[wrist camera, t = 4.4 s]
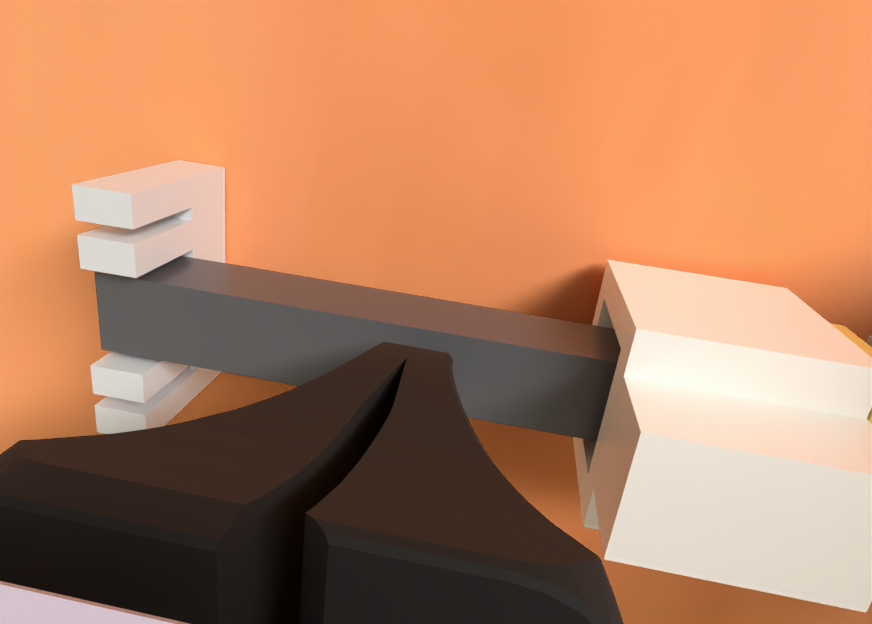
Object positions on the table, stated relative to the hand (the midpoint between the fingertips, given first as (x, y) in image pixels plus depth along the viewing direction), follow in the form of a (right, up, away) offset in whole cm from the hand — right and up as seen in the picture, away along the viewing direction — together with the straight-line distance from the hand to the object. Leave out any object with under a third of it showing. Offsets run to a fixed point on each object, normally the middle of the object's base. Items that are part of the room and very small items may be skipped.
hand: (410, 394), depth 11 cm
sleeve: (+6, 0, +3) cm, 7 cm away
